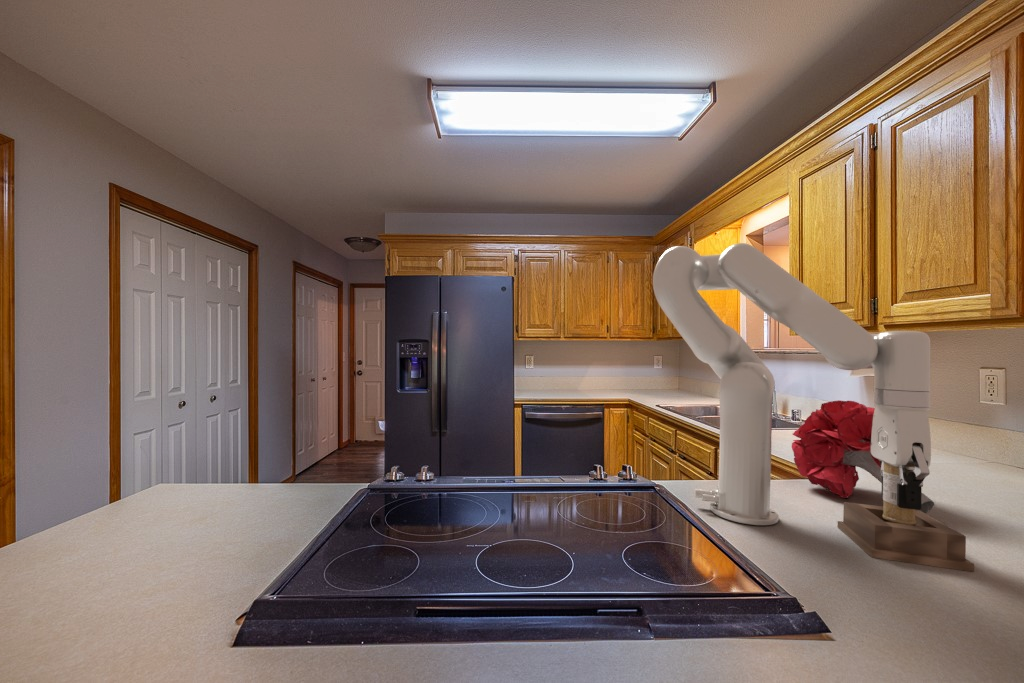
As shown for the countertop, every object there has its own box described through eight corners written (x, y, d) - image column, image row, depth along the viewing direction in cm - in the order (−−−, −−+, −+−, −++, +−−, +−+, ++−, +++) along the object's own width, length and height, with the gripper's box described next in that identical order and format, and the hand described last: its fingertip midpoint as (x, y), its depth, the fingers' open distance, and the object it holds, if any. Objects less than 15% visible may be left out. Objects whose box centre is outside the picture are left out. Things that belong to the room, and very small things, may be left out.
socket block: (871, 557, 74) (872, 525, 74) (837, 527, 87) (838, 500, 87) (973, 571, 70) (974, 538, 70) (922, 538, 83) (922, 510, 83)
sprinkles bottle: (919, 523, 78) (920, 446, 78) (910, 528, 75) (911, 448, 76) (887, 514, 82) (887, 441, 82) (877, 519, 79) (878, 443, 80)
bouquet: (935, 537, 101) (828, 447, 126) (998, 460, 90) (867, 378, 115) (858, 550, 96) (763, 453, 122) (915, 470, 85) (797, 382, 110)
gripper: (854, 395, 88) (854, 487, 88) (902, 403, 72) (901, 517, 72) (900, 397, 86) (899, 492, 86) (959, 406, 70) (959, 523, 69)
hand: (900, 502), depth 79 cm, fingers closed on sprinkles bottle, 4 cm apart
